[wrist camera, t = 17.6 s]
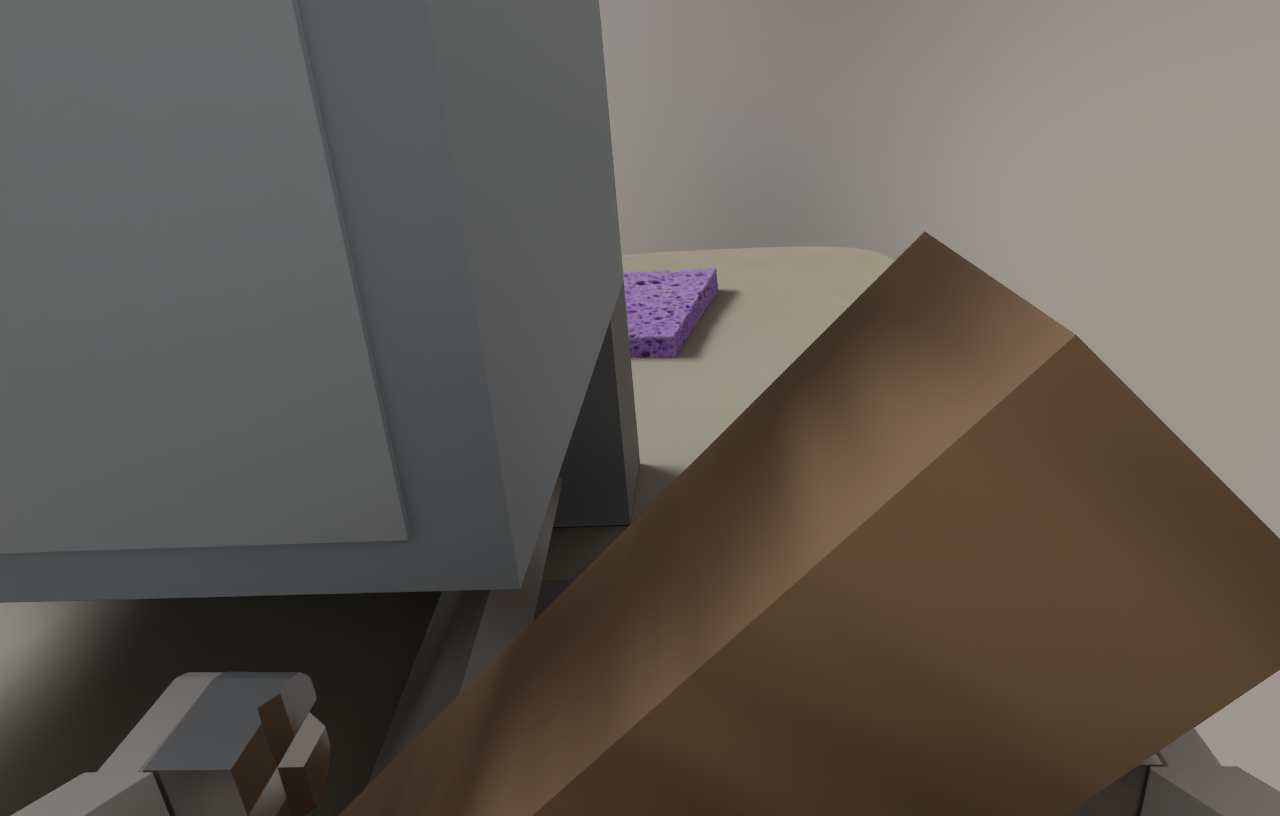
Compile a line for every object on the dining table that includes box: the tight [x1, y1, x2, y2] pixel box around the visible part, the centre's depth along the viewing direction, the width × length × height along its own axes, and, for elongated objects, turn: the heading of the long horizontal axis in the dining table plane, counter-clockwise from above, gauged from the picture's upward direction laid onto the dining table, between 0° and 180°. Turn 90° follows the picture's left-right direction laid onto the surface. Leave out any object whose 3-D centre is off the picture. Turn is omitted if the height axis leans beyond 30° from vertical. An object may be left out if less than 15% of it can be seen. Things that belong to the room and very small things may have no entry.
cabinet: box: [0, 0, 640, 603], centre depth 21 cm, size 18×22×18 cm
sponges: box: [623, 268, 718, 358], centre depth 49 cm, size 7×13×2 cm, turn 165°
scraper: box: [338, 232, 1280, 816], centre depth 16 cm, size 16×4×14 cm
